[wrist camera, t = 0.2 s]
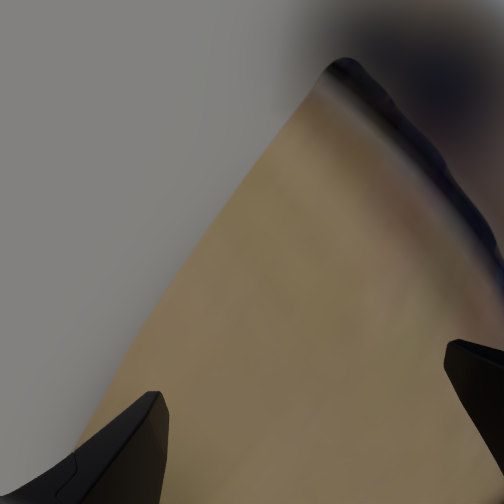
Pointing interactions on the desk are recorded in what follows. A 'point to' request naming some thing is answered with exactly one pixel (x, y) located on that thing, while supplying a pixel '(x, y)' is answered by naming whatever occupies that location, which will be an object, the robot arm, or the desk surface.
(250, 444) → the desk surface
